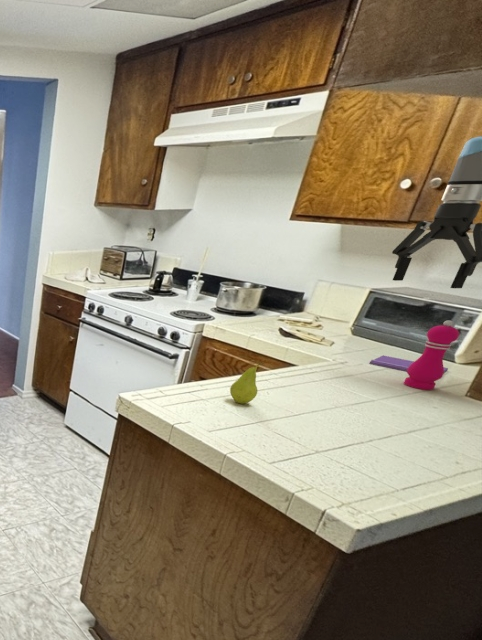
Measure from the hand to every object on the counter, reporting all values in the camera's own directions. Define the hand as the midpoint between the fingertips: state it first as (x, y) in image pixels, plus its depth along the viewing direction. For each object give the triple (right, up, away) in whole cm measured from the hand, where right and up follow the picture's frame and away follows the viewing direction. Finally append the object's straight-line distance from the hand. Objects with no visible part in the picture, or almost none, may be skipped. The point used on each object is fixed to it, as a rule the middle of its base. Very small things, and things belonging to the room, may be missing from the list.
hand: (425, 284), depth 131 cm
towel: (+23, -22, +25) cm, 41 cm away
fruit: (-57, -33, -6) cm, 66 cm away
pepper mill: (+7, -29, +8) cm, 31 cm away
